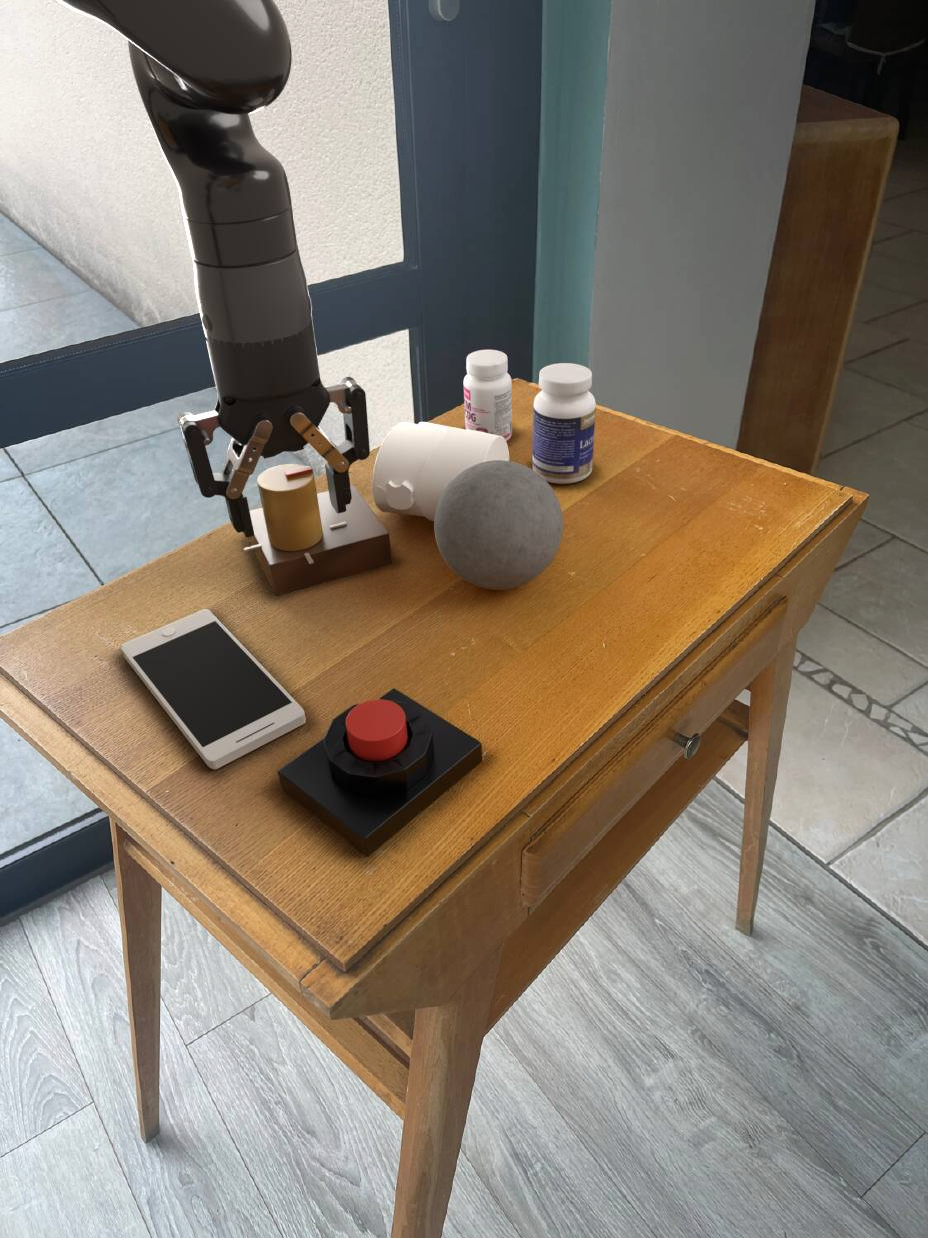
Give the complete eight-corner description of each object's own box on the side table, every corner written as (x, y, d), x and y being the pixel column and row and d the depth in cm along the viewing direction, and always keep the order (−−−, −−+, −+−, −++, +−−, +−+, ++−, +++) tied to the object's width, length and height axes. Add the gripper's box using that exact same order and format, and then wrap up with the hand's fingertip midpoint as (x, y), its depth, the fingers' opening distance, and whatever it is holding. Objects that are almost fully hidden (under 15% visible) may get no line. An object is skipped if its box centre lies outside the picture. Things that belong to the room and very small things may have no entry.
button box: (367, 857, 54) (361, 818, 52) (281, 789, 59) (272, 750, 56) (482, 761, 60) (481, 722, 58) (396, 705, 64) (391, 667, 62)
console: (264, 609, 74) (257, 576, 72) (234, 545, 81) (227, 514, 79) (398, 571, 77) (394, 539, 75) (357, 513, 84) (353, 482, 83)
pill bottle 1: (455, 437, 95) (452, 358, 90) (486, 421, 98) (484, 343, 93) (490, 451, 93) (489, 370, 88) (521, 434, 96) (521, 355, 90)
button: (376, 770, 55) (373, 750, 54) (336, 742, 57) (333, 721, 56) (419, 737, 57) (417, 716, 56) (379, 711, 59) (376, 690, 58)
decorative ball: (563, 615, 71) (567, 502, 65) (433, 615, 72) (425, 503, 66) (559, 543, 79) (562, 436, 73) (442, 544, 80) (435, 438, 74)
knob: (277, 557, 74) (264, 493, 70) (262, 530, 77) (250, 468, 74) (330, 542, 75) (320, 479, 72) (314, 517, 78) (304, 455, 75)
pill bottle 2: (591, 487, 86) (597, 385, 80) (530, 485, 87) (530, 384, 81) (592, 457, 91) (597, 359, 85) (534, 456, 92) (535, 358, 86)
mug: (476, 550, 79) (473, 466, 74) (376, 532, 82) (367, 450, 77) (521, 483, 88) (521, 403, 83) (429, 468, 91) (424, 391, 86)
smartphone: (209, 615, 73) (206, 606, 72) (309, 722, 63) (306, 711, 62) (121, 654, 70) (118, 644, 69) (212, 772, 60) (209, 762, 59)
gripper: (338, 284, 70) (362, 479, 80) (144, 320, 66) (195, 520, 76) (372, 315, 64) (393, 520, 75) (163, 356, 60) (215, 567, 70)
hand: (293, 519), depth 75 cm, fingers open, 7 cm apart
